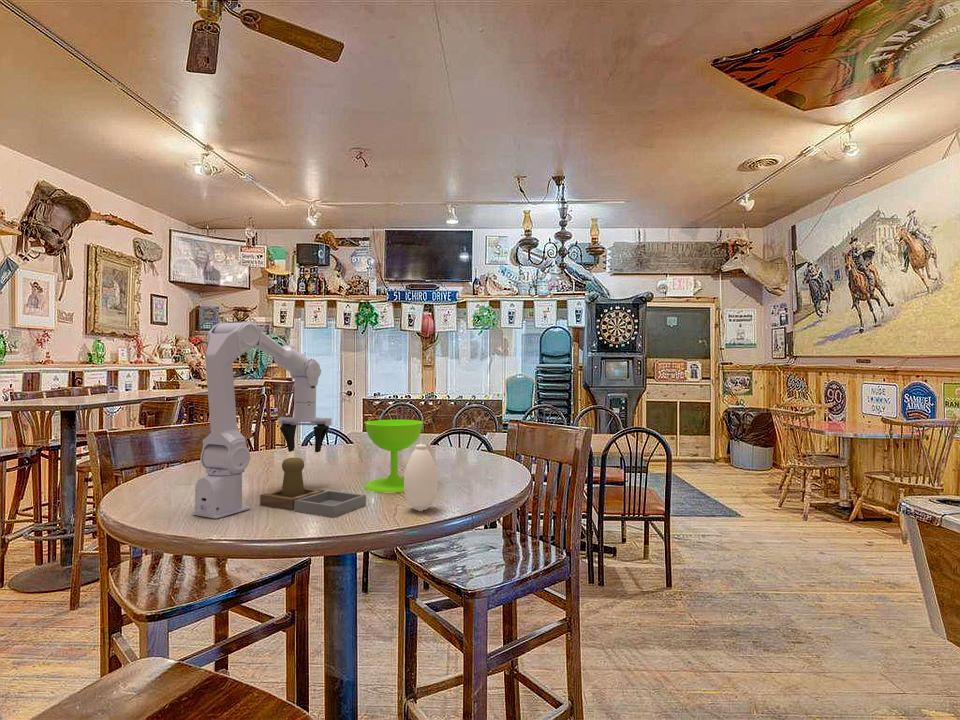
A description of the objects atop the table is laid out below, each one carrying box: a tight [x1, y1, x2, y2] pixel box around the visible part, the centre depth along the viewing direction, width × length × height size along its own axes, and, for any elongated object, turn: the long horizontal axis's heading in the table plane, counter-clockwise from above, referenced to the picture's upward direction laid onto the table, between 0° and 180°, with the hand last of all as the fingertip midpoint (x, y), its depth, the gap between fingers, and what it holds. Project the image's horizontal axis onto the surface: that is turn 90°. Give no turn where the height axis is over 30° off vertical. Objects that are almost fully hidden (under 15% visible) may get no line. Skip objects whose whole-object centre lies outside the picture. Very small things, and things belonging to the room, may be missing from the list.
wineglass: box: [364, 419, 424, 493], centre depth 150 cm, size 16×16×18 cm
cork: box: [281, 457, 305, 497], centre depth 132 cm, size 6×6×11 cm
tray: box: [293, 489, 367, 518], centre depth 127 cm, size 12×12×2 cm
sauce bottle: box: [403, 433, 439, 512], centre depth 126 cm, size 8×8×18 cm
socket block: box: [259, 487, 325, 511], centre depth 132 cm, size 11×11×2 cm
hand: (304, 451), depth 148 cm, fingers open, 7 cm apart
